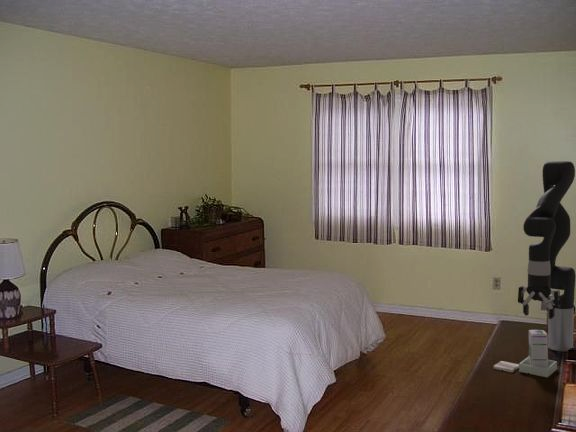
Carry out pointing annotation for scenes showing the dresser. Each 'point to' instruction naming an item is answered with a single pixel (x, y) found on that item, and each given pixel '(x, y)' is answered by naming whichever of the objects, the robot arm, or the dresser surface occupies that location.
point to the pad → (506, 366)
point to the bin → (537, 368)
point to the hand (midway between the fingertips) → (538, 316)
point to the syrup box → (538, 348)
